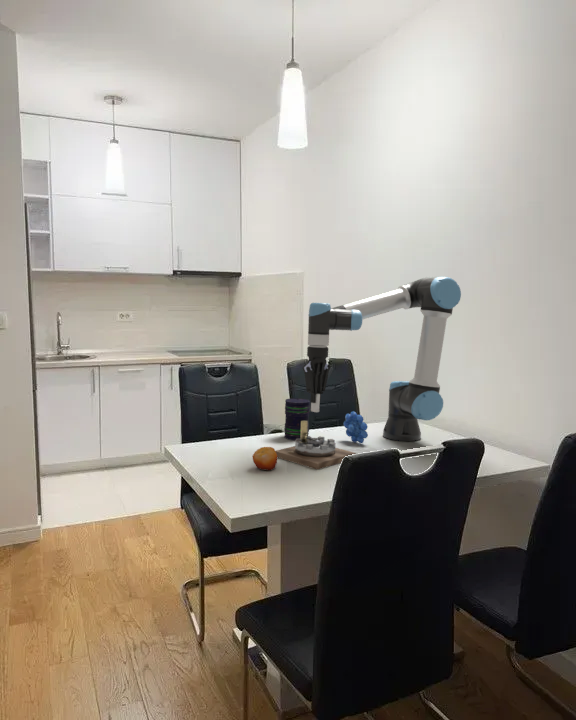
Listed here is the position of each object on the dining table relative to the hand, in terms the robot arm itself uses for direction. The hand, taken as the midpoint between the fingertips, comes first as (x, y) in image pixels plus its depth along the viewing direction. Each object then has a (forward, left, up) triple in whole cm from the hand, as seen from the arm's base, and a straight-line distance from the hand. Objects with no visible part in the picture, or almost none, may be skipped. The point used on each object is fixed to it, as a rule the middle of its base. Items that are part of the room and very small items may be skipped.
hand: (314, 411), depth 204 cm
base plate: (+6, +6, -15) cm, 17 cm away
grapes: (-21, +2, -15) cm, 26 cm away
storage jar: (-10, -18, -15) cm, 26 cm away
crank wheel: (+6, +6, -12) cm, 15 cm away
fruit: (+28, +4, -15) cm, 32 cm away
